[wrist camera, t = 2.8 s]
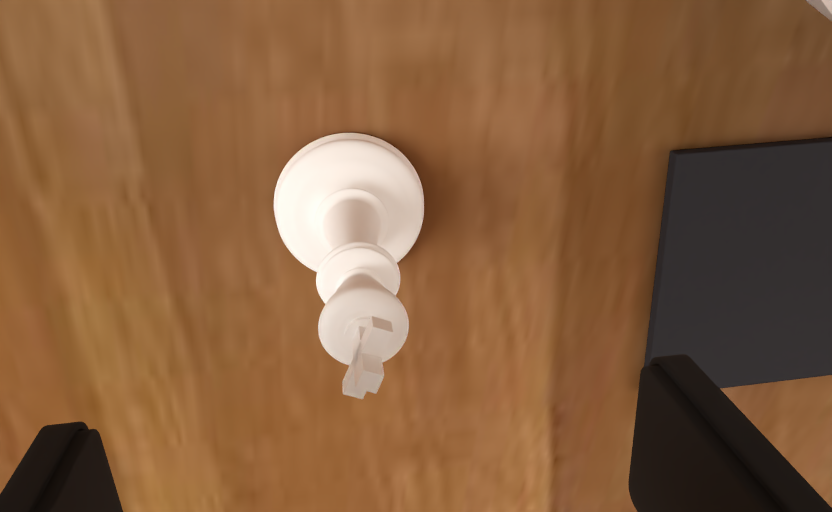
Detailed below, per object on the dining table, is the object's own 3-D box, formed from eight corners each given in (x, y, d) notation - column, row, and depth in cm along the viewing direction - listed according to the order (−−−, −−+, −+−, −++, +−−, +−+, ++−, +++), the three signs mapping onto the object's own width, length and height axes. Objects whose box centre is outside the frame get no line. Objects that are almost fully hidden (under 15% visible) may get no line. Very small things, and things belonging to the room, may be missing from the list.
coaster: (640, 390, 27) (646, 397, 26) (669, 150, 22) (676, 154, 22) (867, 363, 28) (877, 370, 27) (936, 128, 23) (948, 131, 23)
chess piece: (446, 164, 22) (536, 312, 13) (390, 290, 23) (434, 501, 14) (303, 109, 20) (287, 230, 11) (254, 247, 22) (207, 449, 13)
